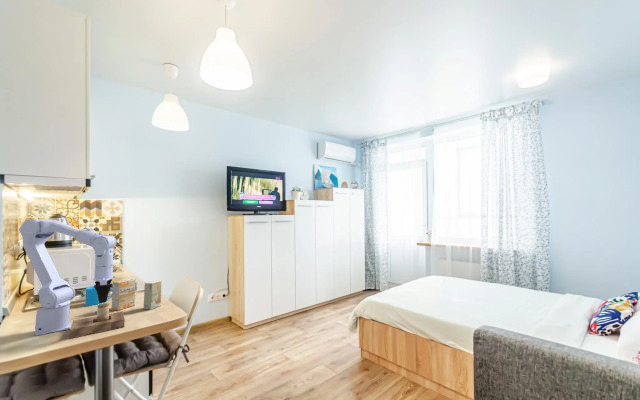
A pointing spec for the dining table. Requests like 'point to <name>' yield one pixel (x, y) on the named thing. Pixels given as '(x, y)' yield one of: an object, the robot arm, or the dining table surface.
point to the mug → (92, 296)
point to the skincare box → (152, 295)
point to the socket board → (96, 325)
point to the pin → (103, 312)
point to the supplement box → (123, 294)
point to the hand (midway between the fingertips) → (102, 300)
